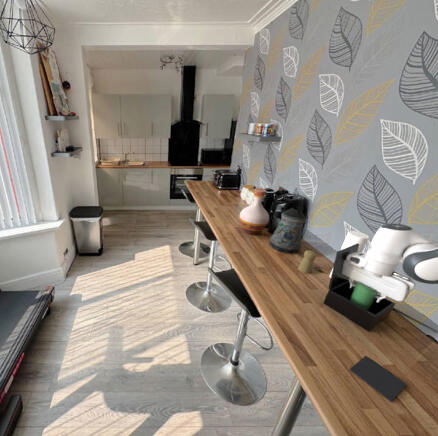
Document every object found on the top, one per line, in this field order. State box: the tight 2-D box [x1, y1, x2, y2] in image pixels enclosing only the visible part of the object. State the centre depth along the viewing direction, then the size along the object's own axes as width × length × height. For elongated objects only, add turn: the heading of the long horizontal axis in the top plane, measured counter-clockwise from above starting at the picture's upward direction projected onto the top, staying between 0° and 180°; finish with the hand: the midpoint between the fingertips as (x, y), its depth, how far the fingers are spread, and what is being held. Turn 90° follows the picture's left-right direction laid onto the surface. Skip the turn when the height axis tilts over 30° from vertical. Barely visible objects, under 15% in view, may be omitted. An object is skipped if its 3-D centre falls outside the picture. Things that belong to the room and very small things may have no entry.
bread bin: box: [323, 280, 396, 332], centre depth 94 cm, size 16×16×8 cm
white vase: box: [239, 187, 270, 236], centre depth 154 cm, size 20×18×30 cm
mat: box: [349, 355, 407, 403], centre depth 71 cm, size 10×10×1 cm
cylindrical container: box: [329, 230, 370, 279], centre depth 109 cm, size 7×7×25 cm
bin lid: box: [328, 244, 359, 290], centre depth 96 cm, size 16×16×1 cm
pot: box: [349, 281, 379, 310], centre depth 92 cm, size 7×7×10 cm
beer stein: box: [269, 206, 307, 255], centre depth 138 cm, size 16×19×25 cm
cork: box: [297, 249, 318, 274], centre depth 118 cm, size 6×6×11 cm
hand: (363, 294), depth 92 cm, fingers closed on pot, 6 cm apart
